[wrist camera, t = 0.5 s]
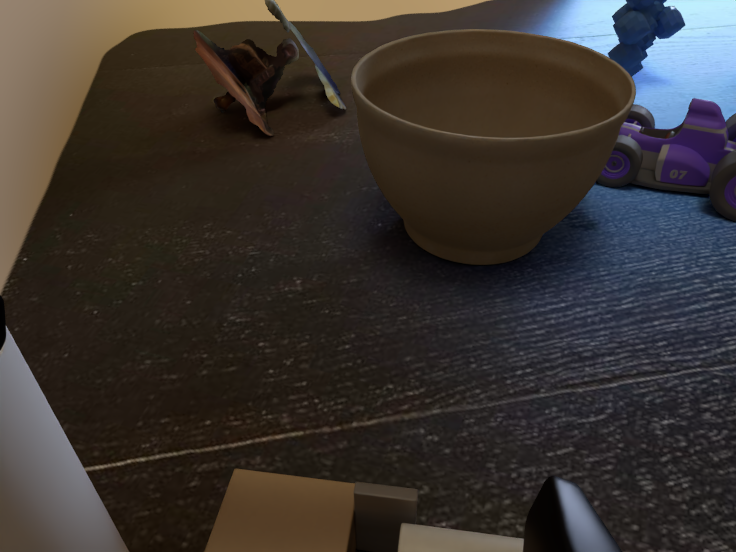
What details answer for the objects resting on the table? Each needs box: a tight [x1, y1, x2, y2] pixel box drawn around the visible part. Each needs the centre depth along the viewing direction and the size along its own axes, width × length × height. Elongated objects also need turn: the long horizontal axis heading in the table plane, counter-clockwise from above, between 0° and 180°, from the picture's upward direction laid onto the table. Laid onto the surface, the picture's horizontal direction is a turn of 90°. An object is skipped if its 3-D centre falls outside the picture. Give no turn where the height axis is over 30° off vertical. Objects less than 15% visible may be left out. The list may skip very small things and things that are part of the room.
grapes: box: [608, 0, 685, 77], centre depth 58 cm, size 12×7×12 cm, turn 153°
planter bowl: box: [351, 29, 636, 265], centre depth 38 cm, size 16×16×11 cm
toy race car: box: [596, 98, 736, 221], centre depth 45 cm, size 10×15×6 cm, turn 62°
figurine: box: [193, 0, 346, 136], centre depth 56 cm, size 15×9×13 cm
